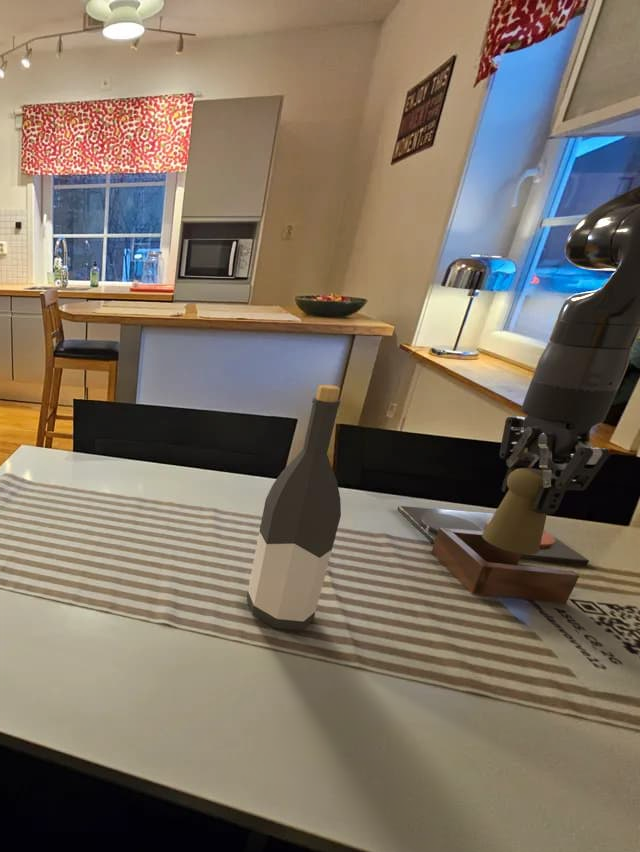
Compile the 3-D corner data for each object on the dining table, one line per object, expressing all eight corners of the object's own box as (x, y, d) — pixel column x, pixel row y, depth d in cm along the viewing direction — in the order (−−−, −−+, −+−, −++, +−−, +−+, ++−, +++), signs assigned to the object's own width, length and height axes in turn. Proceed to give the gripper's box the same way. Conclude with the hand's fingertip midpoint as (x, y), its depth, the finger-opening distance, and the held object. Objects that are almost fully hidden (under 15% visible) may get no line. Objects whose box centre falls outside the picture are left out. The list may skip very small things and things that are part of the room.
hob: (521, 519, 87) (523, 513, 87) (587, 564, 74) (591, 557, 74) (397, 509, 90) (399, 503, 90) (439, 550, 78) (442, 543, 77)
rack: (511, 560, 75) (522, 534, 74) (566, 603, 66) (579, 575, 64) (430, 552, 77) (439, 527, 76) (471, 593, 68) (482, 566, 66)
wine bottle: (314, 603, 66) (372, 383, 55) (311, 641, 59) (374, 400, 48) (250, 584, 69) (292, 375, 58) (240, 617, 63) (284, 389, 52)
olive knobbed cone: (497, 551, 67) (526, 478, 63) (472, 529, 73) (497, 461, 69) (550, 557, 66) (583, 483, 62) (521, 534, 71) (549, 464, 67)
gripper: (667, 397, 54) (603, 531, 60) (563, 369, 67) (519, 482, 73) (587, 394, 55) (532, 526, 61) (500, 368, 68) (462, 478, 74)
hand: (525, 501), depth 67 cm, fingers closed on olive knobbed cone, 5 cm apart
